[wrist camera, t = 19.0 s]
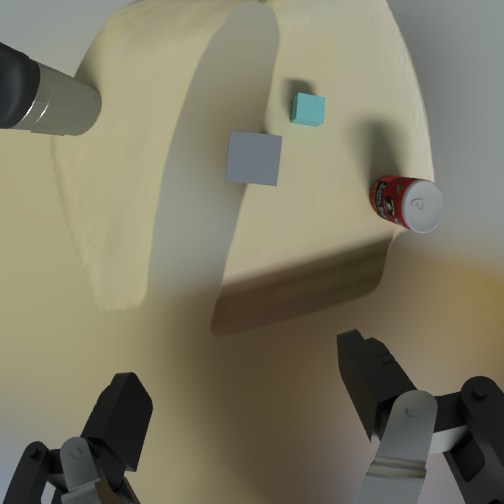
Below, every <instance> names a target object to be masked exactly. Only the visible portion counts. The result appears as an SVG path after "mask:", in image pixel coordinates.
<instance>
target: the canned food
mask: <svg viewBox="0 0 504 504" xmlns="http://www.w3.org/2000/svg"><path fill="white" fill-rule="evenodd" d="M370 201H371V205H372V207H373V209H374V211H375V212H376V213H377V214H378V215H379V216H380V217H382V218H383V219H386V220H388V221H391V222H393V223H396V224H398V225H400V226H403V227H405V228H408V229H410V230H413V231H415V232H419V233H427V232H430V231H431V230H433V229H434V228H435V227H436V226H437V225H438V223H439V222H440V220H441V218H442V215H443V210H444V201H443V196H442V194H441V191H440V189H439V188H438V187H437V186H436V184H434V183H433V182H431V181H428V180H424V179H418V178H408V177H398V176H385V177H382V178H381V179H379V180H378V181H377V182H376V183H375V184H374V185H373V187H372V189H371V193H370Z"/></svg>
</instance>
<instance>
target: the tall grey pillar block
mask: <svg viewBox="0 0 504 504" xmlns="http://www.w3.org/2000/svg"><path fill="white" fill-rule="evenodd" d="M281 143H282V136H277V135H269V134H261V133H253V132H242V131H232V130H231V131H230V138H229V147H228V156H227V165H226V175H225V181H233V182H243V183H252V184H262V185H270V186H277V178H278V170H279V161H280V152H281Z"/></svg>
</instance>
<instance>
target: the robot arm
mask: <svg viewBox="0 0 504 504" xmlns="http://www.w3.org/2000/svg"><path fill="white" fill-rule="evenodd" d="M100 108H101V98H100V95H99V93H98V91H97V90H96V89H95V88H93V87H91V86H89V85H87V84H85V83H83V82H81V81H79V80H77V79H75V78H73V77H71V76H68V75H66V74H64V73H62V72H60V71H57V70H55V69H53V68H51V67H48V66H46V65H43V64H41V63H39V62H36V61H34V60H32V59H30V58H29V57H28V56H27V55H25V54H24V53H22V52H19V51H17V50H15V49H13V48H11V47H9V46H7V45H5V44H3V43H1V42H0V128H1V129H20V130H30V131H31V132H33V133H42V134H52V135H61V136H64V135H75V136H76V135H80V134H82V133H84V132H86V131H87V130H89V129H90V128H91V126H92V125H93V124H94V123H95V121H96V119H97V117H98V115H99V112H100ZM337 350H338V363H339V364H338V365H339V371H340V374H341V377H342V379H343V382H344V384H345V386H346V389H347V391H348V393H349V395H350V397H351V400H352V402H353V404H354V406H355V409H356V411H357V413H358V415H359V417H360V420H361V422H362V424H363V426H364V429H365V431H366V433H367V436H368V438H369V440H370V442H374V441H377V440H380V442H381V443H380V445H379V448H378V450H377V453H376V455H375V458H374V460H373V462H372V463H371V465H370V466H369V468H368V471H367V473H366V475H365V477H364V479H363V481H362V483H361V485H360V488H359V489H358V491H357V493H356V495H355V497H354V499H353V501H352V503H351V504H416V503H417V500H418V497H419V495H420V492H421V489H422V486H423V483H424V479H425V476H426V468H425V464H426V460H427V457H428V455H432V454H436V453H440V452H443V454H444V456H445V458H446V460H447V462H448V465H449V467H450V469H451V471H452V473H453V475H454V478H455V480H456V482H457V484H458V486H459V489H460V491H461V494H462V496H463V498H464V501H465V503H466V504H504V393H503V392H502V391H501V389H500V388H499V387H498V386H497V385H496V383H495V382H494V381H493V380H491V379H490V378H487V377H484V376H476V377H473V378H470V379H469V380H467V381H466V382H465V383H464V385H463V387H462V388H461V391H460V392H456V393H452V394H447V395H443V396H433V395H431V394H430V393H428V392H426V391H423V390H417V388H416V387H415V386H414V385H413V383H412V382H411V380H410V379H409V378H408V376H407V375H406V373H405V372H404V371H403V369H402V368H401V367H400V365H399V364H398V363H397V361H395V358H394V357H393V356H392V354H390V352H389V350H388V349H387V348H386V346H385V345H384V344H383V343H382V342H380V341H378V340H376V339H374V338H373V337H372V338H369V339H366V340H364V338H363V337H362V336H361V334H360V333H359V331H358V330H357V329H354V330H351V331H347V332H344V333H341V334H338V335H337ZM152 411H153V404H152V400H151V398H150V396H149V395H148V393H147V392H146V390H145V388H144V387H143V386H142V384H141V382H140V380H139V379H138V377H137V375H136V374H135V373H133V372H130V373H117V374H115V376H114V378H113V380H112V382H111V384H110V385H108V387H107V388H106V389H105V390H104V391H103V392H102V393H101V394H100V396H99V398H98V400H97V404H96V405H95V406H94V408H93V411H92V413H91V415H90V417H89V419H88V421H87V423H86V425H85V427H84V430H83V432H82V434H81V436H80V437H72V438H70V439H68V440H67V441H66V442H65V443H64V444H63V445H62V447H61V449H54V450H49V449H48V448H47V447H46V446H45V445H44V444H43V443H42V442H39V441H36V442H33V443H31V444H29V445H28V446H27V447H26V449H25V451H24V453H23V455H22V457H21V459H20V462H19V464H18V466H17V468H16V471H15V473H14V476H13V478H12V480H11V483H10V485H9V488H8V490H7V493H6V496H5V499H4V501H3V504H41V496H42V494H43V491H44V488H45V485H46V482H47V481H48V482H49V483H50V484H51V485H53V486H54V487H55V488H56V490H55V493H54V496H53V499H52V502H51V504H141V503H140V502H139V500H138V498H137V497H136V495H135V493H134V491H133V489H132V487H131V486H130V484H129V482H128V480H127V478H126V477H125V476H124V472H125V471H132V472H136V470H137V466H138V462H139V458H140V454H141V451H142V447H143V443H144V440H145V436H146V432H147V429H148V425H149V421H150V418H151V415H152Z"/></svg>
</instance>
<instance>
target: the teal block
mask: <svg viewBox="0 0 504 504" xmlns="http://www.w3.org/2000/svg"><path fill="white" fill-rule="evenodd" d="M324 108H325V98H324V97H319V96H314V95H309V94H304V93H298V94H297V95H296V96H295V97H294V99H293V106H292V116H291V123H297V124H303V125H309V126H314V127H316V126H318V125H320V124H322V123H323V120H324Z"/></svg>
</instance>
